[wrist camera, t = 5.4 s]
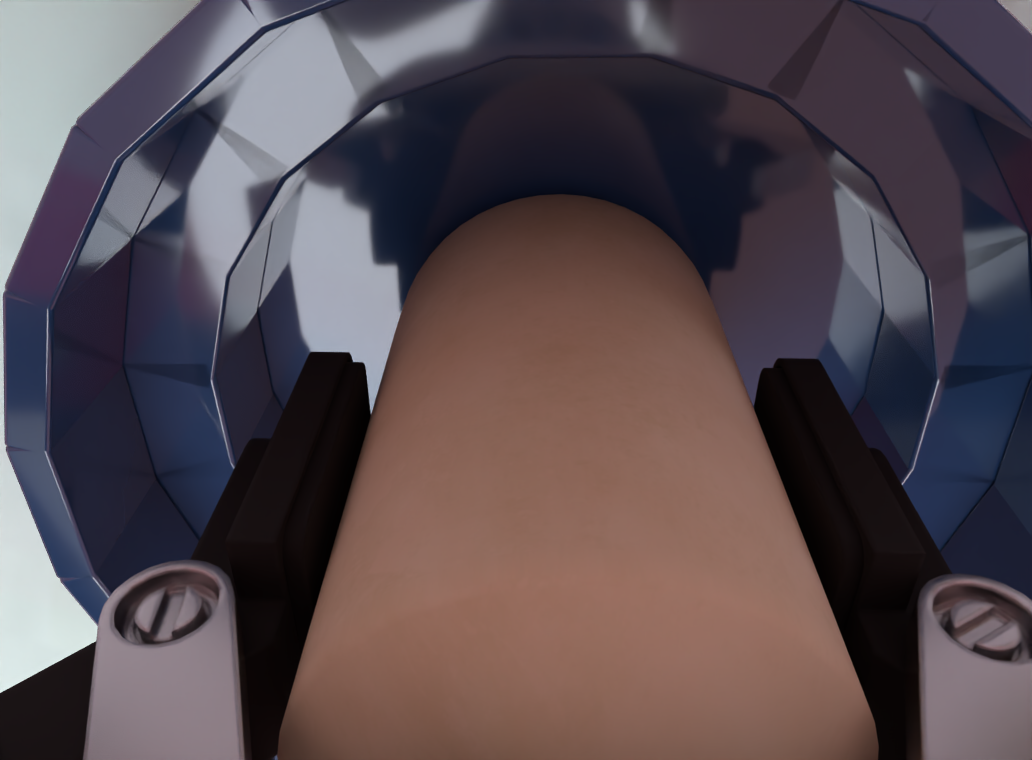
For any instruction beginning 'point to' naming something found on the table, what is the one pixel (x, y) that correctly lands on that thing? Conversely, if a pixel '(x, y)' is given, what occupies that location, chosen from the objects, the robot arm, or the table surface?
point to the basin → (510, 176)
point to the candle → (569, 525)
